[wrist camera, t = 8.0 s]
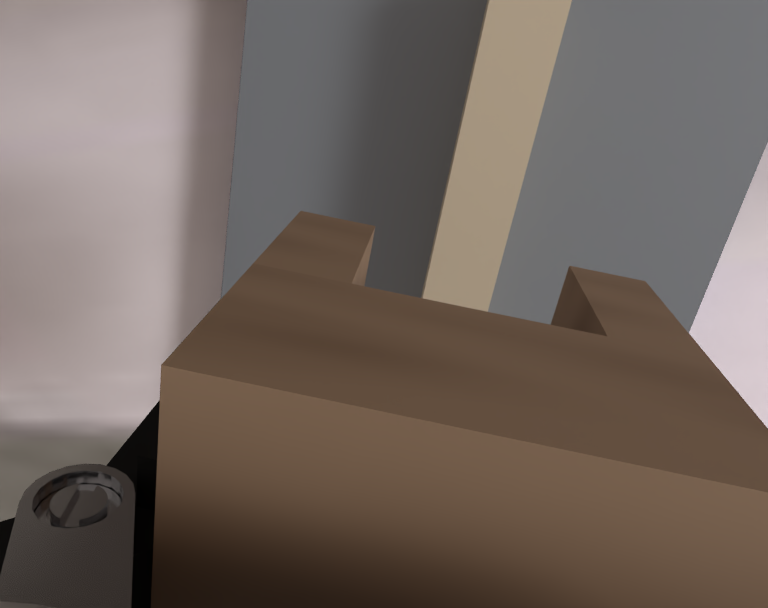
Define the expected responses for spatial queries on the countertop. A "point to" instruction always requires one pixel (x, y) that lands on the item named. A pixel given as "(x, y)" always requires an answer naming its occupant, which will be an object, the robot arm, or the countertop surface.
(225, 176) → the countertop surface
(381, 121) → the cleat board
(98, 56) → the countertop surface
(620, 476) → the saddle block
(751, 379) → the countertop surface
